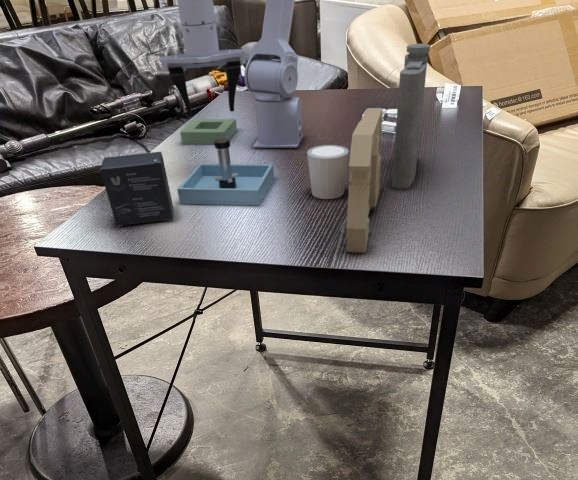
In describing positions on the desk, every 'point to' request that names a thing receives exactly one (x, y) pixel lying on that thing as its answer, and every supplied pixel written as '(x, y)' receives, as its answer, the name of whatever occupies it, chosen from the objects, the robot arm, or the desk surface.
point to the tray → (207, 190)
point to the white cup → (327, 170)
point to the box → (137, 188)
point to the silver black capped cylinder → (225, 164)
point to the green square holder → (208, 130)
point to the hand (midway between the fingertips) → (211, 112)
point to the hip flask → (409, 115)
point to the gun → (363, 178)
